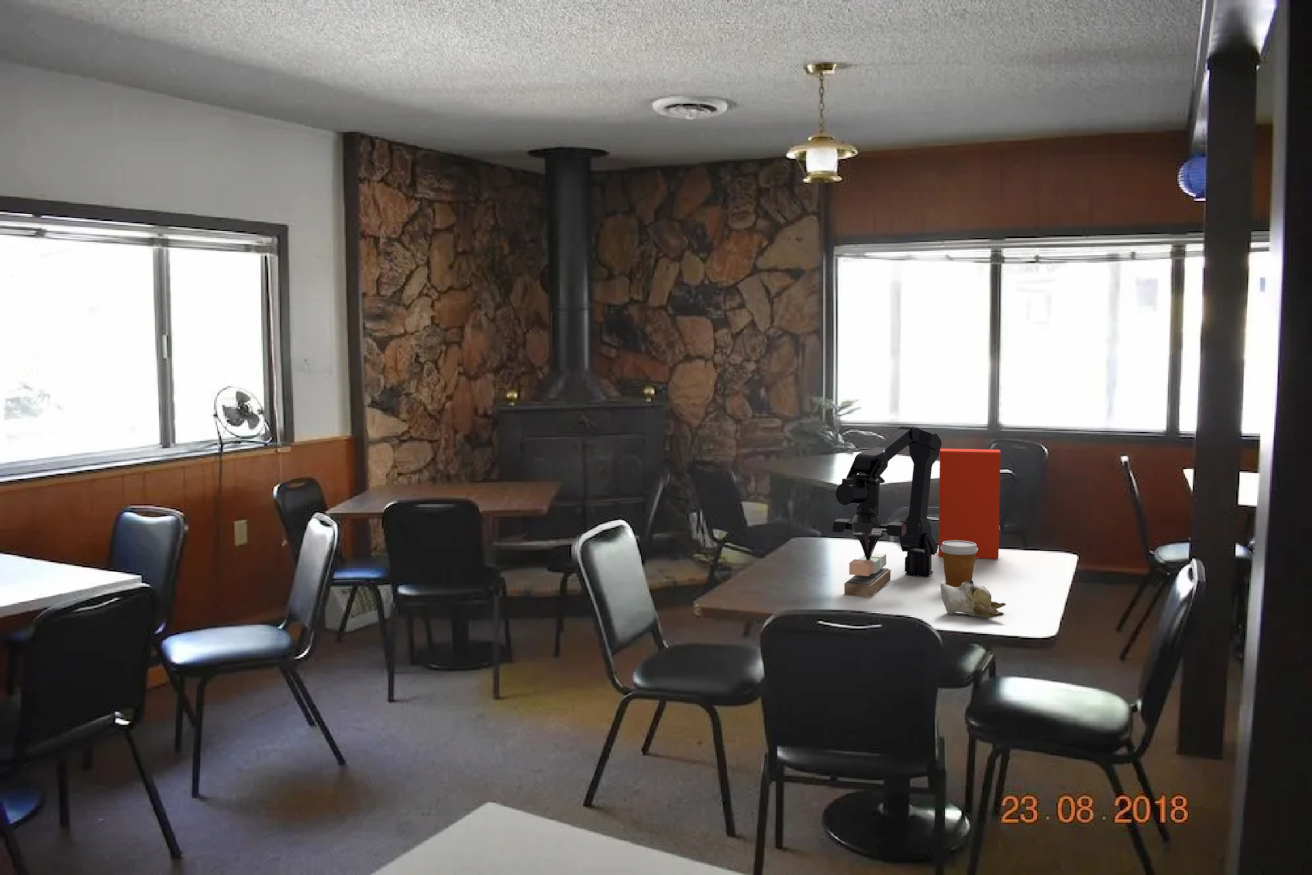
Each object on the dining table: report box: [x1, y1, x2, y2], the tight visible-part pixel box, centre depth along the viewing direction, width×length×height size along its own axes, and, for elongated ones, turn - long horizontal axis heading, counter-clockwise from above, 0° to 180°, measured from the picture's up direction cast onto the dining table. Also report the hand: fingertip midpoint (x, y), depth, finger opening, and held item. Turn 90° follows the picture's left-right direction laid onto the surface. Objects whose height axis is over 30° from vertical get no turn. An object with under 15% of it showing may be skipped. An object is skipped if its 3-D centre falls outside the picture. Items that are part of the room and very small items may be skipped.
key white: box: [862, 552, 887, 568], centre depth 291 cm, size 5×5×3 cm
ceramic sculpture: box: [940, 580, 1007, 619], centre depth 256 cm, size 11×9×15 cm
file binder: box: [937, 448, 1002, 560], centre depth 324 cm, size 8×17×32 cm, turn 74°
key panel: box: [843, 567, 892, 598], centre depth 285 cm, size 7×21×3 cm, turn 154°
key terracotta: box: [848, 558, 873, 576], centre depth 278 cm, size 5×5×3 cm
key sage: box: [857, 556, 880, 574], centre depth 285 cm, size 5×5×3 cm
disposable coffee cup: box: [940, 540, 978, 587], centre depth 282 cm, size 10×10×12 cm
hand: (868, 559), depth 284 cm, fingers closed, pressing on key sage
